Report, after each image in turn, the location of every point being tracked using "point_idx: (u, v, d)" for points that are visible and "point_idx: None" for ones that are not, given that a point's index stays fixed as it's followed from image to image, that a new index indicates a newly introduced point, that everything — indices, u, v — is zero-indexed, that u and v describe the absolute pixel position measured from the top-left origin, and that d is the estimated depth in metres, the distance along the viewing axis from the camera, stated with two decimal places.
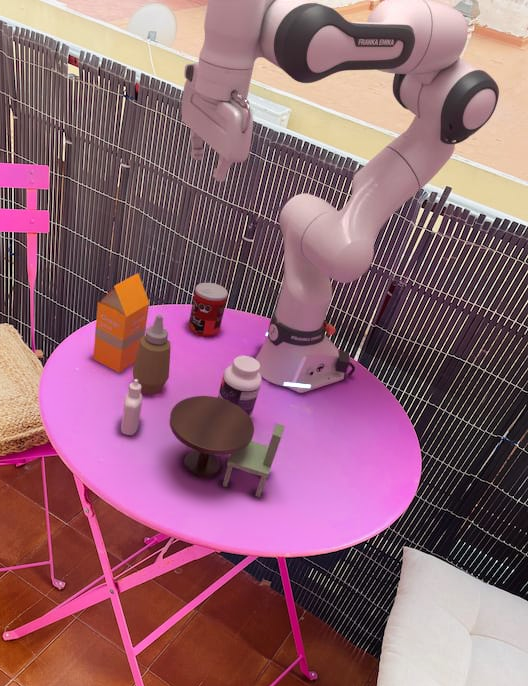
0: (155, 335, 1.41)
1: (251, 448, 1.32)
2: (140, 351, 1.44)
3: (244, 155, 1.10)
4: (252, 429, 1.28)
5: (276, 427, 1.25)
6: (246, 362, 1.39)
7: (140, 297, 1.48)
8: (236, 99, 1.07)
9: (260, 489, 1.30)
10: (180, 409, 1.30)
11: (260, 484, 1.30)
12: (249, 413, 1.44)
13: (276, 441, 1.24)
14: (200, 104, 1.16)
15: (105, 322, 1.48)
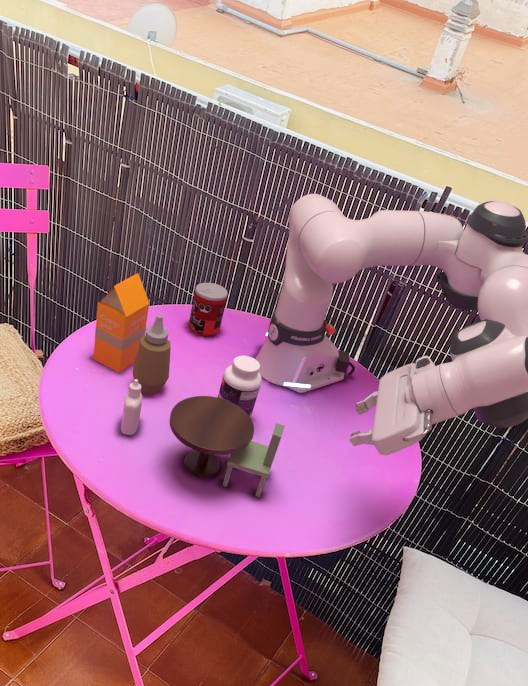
0: (155, 335, 1.41)
1: (251, 448, 1.32)
2: (140, 351, 1.44)
3: (385, 451, 1.09)
4: (252, 429, 1.28)
5: (276, 427, 1.25)
6: (246, 362, 1.39)
7: (140, 297, 1.48)
8: (426, 417, 1.07)
9: (260, 489, 1.30)
10: (180, 409, 1.30)
11: (260, 484, 1.30)
12: (249, 413, 1.44)
13: (276, 441, 1.24)
14: (403, 387, 1.16)
15: (105, 322, 1.48)
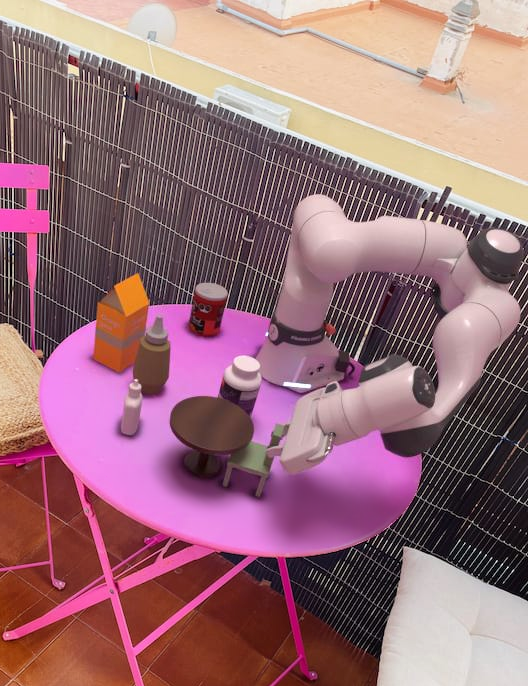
0: (155, 335, 1.41)
1: (251, 448, 1.32)
2: (140, 351, 1.44)
3: (291, 471, 1.17)
4: (252, 429, 1.28)
5: (276, 427, 1.25)
6: (246, 362, 1.39)
7: (140, 297, 1.48)
8: (328, 440, 1.15)
9: (260, 489, 1.30)
10: (180, 409, 1.30)
11: (260, 484, 1.30)
12: (249, 413, 1.44)
13: (276, 441, 1.24)
14: (313, 410, 1.24)
15: (105, 322, 1.48)
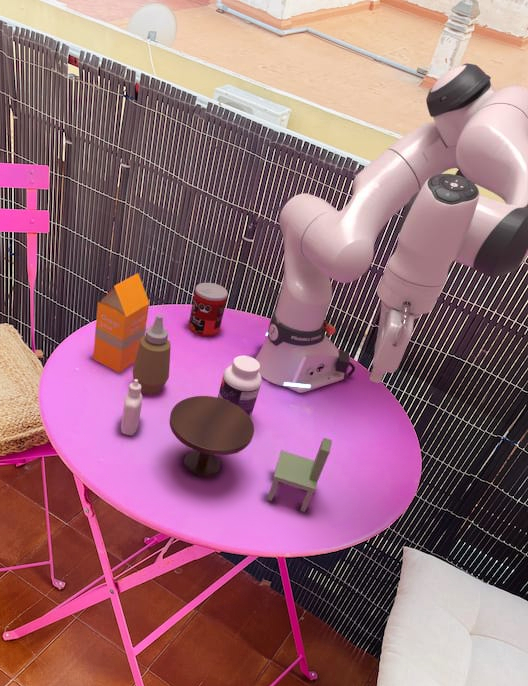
0: (155, 335, 1.41)
1: (296, 462, 1.31)
2: (140, 351, 1.44)
3: (391, 367, 1.02)
4: (252, 429, 1.28)
5: (324, 442, 1.24)
6: (246, 362, 1.39)
7: (140, 297, 1.48)
8: (402, 311, 1.00)
9: (306, 504, 1.29)
10: (180, 409, 1.30)
11: (306, 499, 1.28)
12: (249, 413, 1.44)
13: (324, 456, 1.23)
14: None
15: (105, 322, 1.48)
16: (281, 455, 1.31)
